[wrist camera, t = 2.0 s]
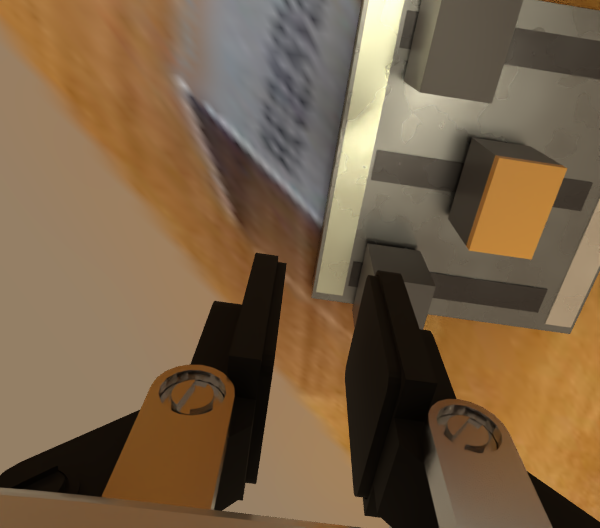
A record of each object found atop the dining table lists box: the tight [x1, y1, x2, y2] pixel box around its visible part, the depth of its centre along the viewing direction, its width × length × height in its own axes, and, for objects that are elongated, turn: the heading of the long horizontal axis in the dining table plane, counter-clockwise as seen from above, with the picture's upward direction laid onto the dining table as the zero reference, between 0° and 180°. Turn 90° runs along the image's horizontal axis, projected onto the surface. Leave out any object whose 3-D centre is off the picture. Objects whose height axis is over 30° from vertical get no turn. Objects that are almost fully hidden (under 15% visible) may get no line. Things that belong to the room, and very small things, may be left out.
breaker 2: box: [404, 0, 523, 104], centre depth 21 cm, size 3×4×4 cm
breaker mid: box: [448, 138, 567, 260], centre depth 24 cm, size 3×4×4 cm
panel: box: [312, 0, 600, 334], centre depth 27 cm, size 16×17×2 cm
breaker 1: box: [352, 243, 436, 330], centre depth 27 cm, size 3×4×4 cm
